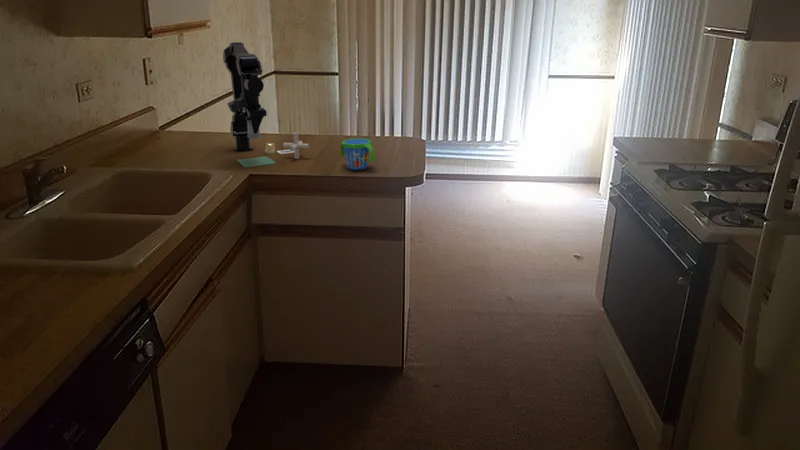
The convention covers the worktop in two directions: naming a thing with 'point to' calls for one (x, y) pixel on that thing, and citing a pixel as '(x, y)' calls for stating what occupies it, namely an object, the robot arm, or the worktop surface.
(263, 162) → the mat
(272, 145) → the brass fitting
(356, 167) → the snack cup
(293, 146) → the pipe connector
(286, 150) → the label tile
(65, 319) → the worktop surface
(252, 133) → the cylinder
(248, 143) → the robot arm
